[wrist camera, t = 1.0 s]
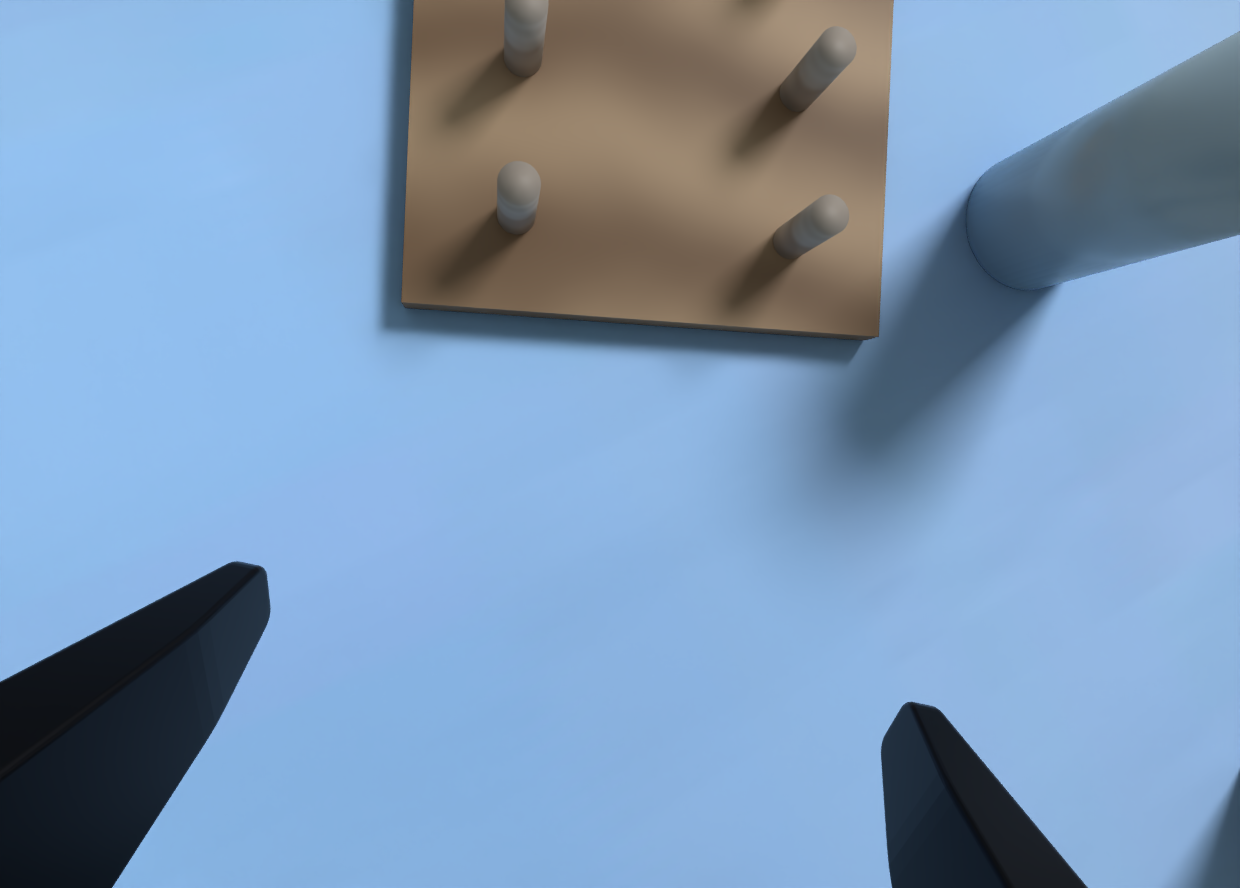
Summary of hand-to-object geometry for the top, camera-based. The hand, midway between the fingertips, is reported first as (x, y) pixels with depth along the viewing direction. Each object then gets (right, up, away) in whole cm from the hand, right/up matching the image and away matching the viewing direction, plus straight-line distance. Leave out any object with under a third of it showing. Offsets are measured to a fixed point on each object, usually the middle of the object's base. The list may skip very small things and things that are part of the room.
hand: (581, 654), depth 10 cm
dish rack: (+2, +15, +15) cm, 21 cm away
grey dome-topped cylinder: (+16, +11, +17) cm, 26 cm away
